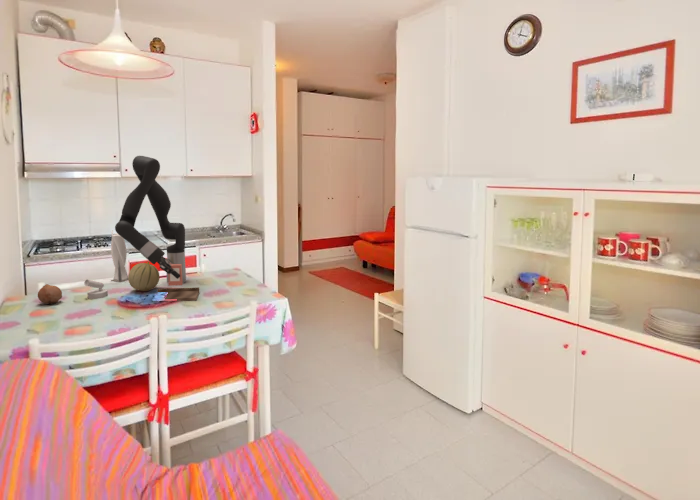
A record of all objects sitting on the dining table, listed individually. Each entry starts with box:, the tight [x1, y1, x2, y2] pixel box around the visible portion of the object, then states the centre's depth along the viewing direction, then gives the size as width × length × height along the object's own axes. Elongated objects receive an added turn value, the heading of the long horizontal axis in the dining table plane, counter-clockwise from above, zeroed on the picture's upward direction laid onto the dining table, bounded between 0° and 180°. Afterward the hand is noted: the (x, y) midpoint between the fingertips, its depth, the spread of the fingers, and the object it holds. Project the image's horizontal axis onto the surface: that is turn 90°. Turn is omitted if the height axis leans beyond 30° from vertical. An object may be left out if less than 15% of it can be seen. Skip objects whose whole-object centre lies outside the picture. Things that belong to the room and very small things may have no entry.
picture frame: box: [168, 264, 184, 287], centre depth 218 cm, size 6×3×10 cm, turn 102°
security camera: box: [84, 278, 109, 300], centre depth 219 cm, size 9×10×10 cm
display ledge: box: [156, 286, 200, 302], centre depth 220 cm, size 20×13×3 cm, turn 102°
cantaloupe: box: [127, 261, 160, 292], centre depth 230 cm, size 15×15×15 cm
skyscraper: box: [110, 230, 129, 283], centre depth 248 cm, size 8×8×28 cm
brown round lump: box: [37, 283, 63, 305], centre depth 207 cm, size 10×9×10 cm
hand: (179, 276), depth 219 cm, fingers closed on picture frame, 3 cm apart
